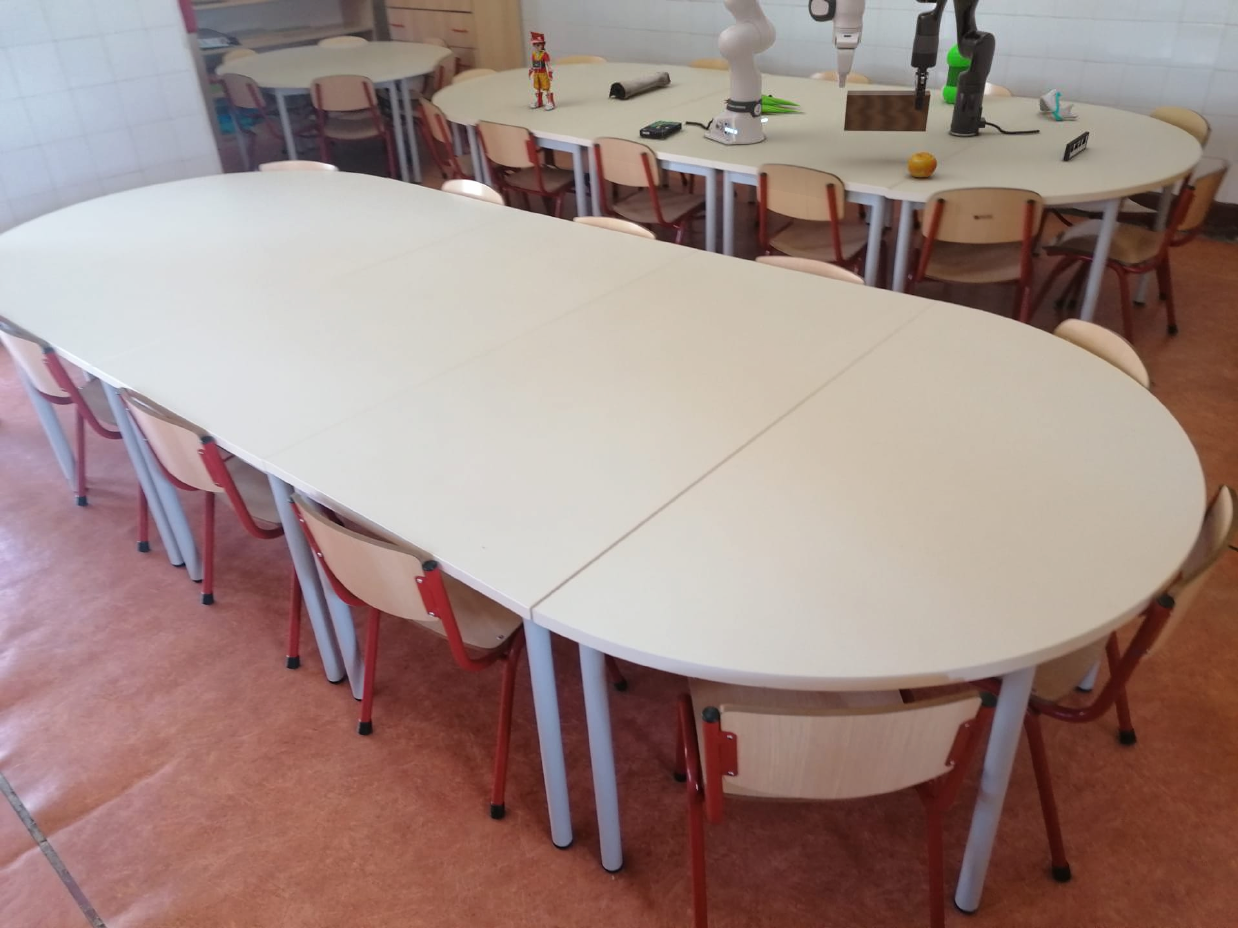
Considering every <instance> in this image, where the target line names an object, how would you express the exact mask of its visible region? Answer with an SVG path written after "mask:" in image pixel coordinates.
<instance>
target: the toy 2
mask: <svg viewBox="0 0 1238 928" xmlns="http://www.w3.org/2000/svg"><path fill="white" fill-rule="evenodd" d="M761 97H762V111H761V113H772V114H773V113H776V114H777V113H778V114H779V113H797V114H798V113H804V112H803V111H798V110H794V109H788V108H783V107H780V106H790V107H801V105H799V104H797V103H795V102H791V101H788V100H786V99H785V100H784V99H782V98H777V97H773V95H772V94H769V95H766V94H764V93H763V94H762V93H761Z"/></svg>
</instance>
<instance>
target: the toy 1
mask: <svg viewBox="0 0 1238 928" xmlns="http://www.w3.org/2000/svg"><path fill="white" fill-rule="evenodd" d="M529 33H530V35H531V36H528V37H527V38H528V39H529V40H528V41H527V43H529V44H530V43H531V44H532V48H533V50H534V51H533V52H532V55H531V58H530V59H531V63H530V66H528V74H527V75H528V76H527V77H528V79H529V80H531V75H532V74H533V84H532V85H533V86H532V87H533V88H534V89H535V90H536V92H534V95H535V97H536V100H535V101H533V102H531V105H530V108H531V109H535V108H538V107H542V106H544V101H543V100H544V99H543V95H544V92H546V94H545V97H546V99H547V103H546V104H545V106H544V110H546V111H549V110H553V109H554V107H555V106H556V105H555V99H554V92H551V91H550V90H551V86H552V84H551V82H552V81H553V80H554V77H553V73H554V71H555V70H554V69H552V68H551V63H550V61H551V59H550V58H551V57H550V54H549V53H548V52H547V50H546V48H545V46H546V44H547V41H545V35H544V33H543V32H542V33H539V32H535V31H529Z"/></svg>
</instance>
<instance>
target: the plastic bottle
mask: <svg viewBox="0 0 1238 928" xmlns="http://www.w3.org/2000/svg"><path fill="white" fill-rule="evenodd" d="M946 63H947V64H948V69H947V70H948V71H947V76H946V77H947V78H946V84H945V85H944V87H943V90H942V97H943V99H944V100H945V101H946V102H947V103H948V104H954V103H955V96H956V90H957V83H958V77H959V74H960V73H961V72H963V71H967V70H968V69H969V67H970V64H971V60H967V59H964V58H962V57H961V56H960V54H959V52H958V46H957V43H956V44H954V45H953V46H952V47H951V48H950V49H949V50H948V52H947V54H946Z"/></svg>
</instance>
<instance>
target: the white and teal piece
mask: <svg viewBox="0 0 1238 928" xmlns="http://www.w3.org/2000/svg"><path fill="white" fill-rule="evenodd" d="M1061 96H1062V95H1061V92H1060V91H1059V92H1058V90H1057V89H1055V88H1050V89H1049V90H1048V92H1047V93H1046V94H1043V95H1041V96H1040V97H1039V100H1038V101H1039V104H1038V105H1039V110H1040V111H1041V112H1042V113H1043V112H1044V113H1048V112H1052V114H1053V115H1054V118H1055V119H1056V120H1057V121H1064V120H1066V119H1073V120H1074V119H1077V118H1078V114H1076V113H1075V114H1074V113H1072V112H1071V111H1072V108H1073V107H1075V104H1074V103H1071V104H1068V105H1067V106H1064V107H1061V106H1062V105H1061V102H1060V97H1061Z"/></svg>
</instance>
